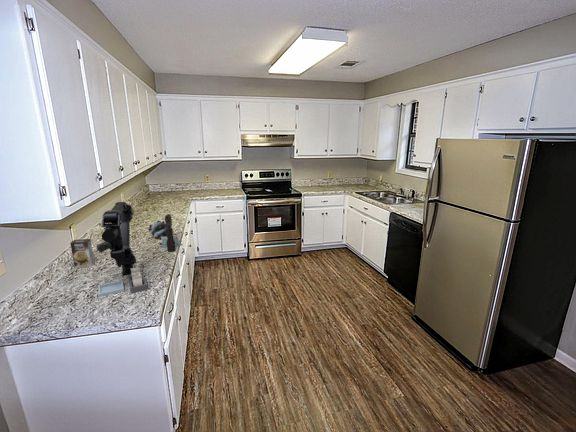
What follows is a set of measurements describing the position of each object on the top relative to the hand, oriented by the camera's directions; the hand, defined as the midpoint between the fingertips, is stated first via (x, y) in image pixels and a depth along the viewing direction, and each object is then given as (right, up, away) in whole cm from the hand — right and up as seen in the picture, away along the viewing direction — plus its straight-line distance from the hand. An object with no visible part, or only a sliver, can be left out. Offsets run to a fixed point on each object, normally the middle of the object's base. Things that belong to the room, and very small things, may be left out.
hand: (119, 264), depth 159 cm
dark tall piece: (+4, +3, +61) cm, 61 cm away
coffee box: (-36, -5, +27) cm, 46 cm away
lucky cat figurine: (-12, +9, +81) cm, 83 cm away
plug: (+11, -12, -2) cm, 16 cm away
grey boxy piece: (+9, -12, +2) cm, 15 cm away
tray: (-2, -13, -3) cm, 14 cm away
